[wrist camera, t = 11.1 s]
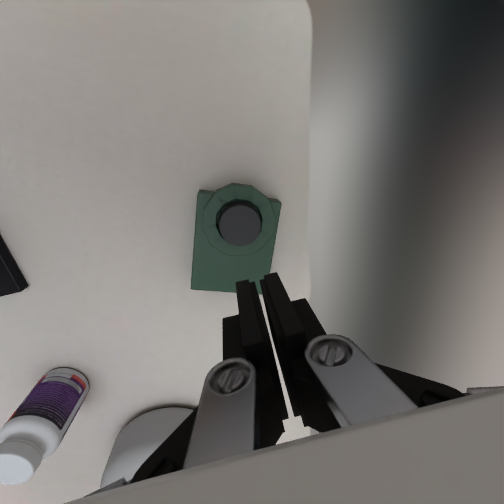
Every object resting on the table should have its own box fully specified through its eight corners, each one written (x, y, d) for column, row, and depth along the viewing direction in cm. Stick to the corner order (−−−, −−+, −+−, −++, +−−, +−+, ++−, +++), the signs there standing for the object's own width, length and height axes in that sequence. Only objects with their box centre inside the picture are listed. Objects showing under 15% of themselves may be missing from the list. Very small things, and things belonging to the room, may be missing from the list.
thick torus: (248, 444, 40) (253, 497, 34) (169, 494, 42) (160, 554, 36) (177, 383, 35) (168, 432, 29) (91, 444, 37) (64, 502, 31)
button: (221, 199, 25) (221, 202, 23) (261, 204, 25) (263, 207, 24) (217, 238, 26) (217, 244, 24) (255, 242, 26) (257, 248, 25)
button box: (200, 176, 27) (197, 180, 24) (279, 187, 29) (288, 191, 25) (192, 280, 31) (188, 298, 27) (263, 286, 32) (268, 303, 28)
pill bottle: (37, 366, 32) (-34, 450, 23) (87, 365, 33) (36, 446, 24) (46, 402, 34) (-18, 493, 25) (92, 400, 35) (47, 488, 26)
